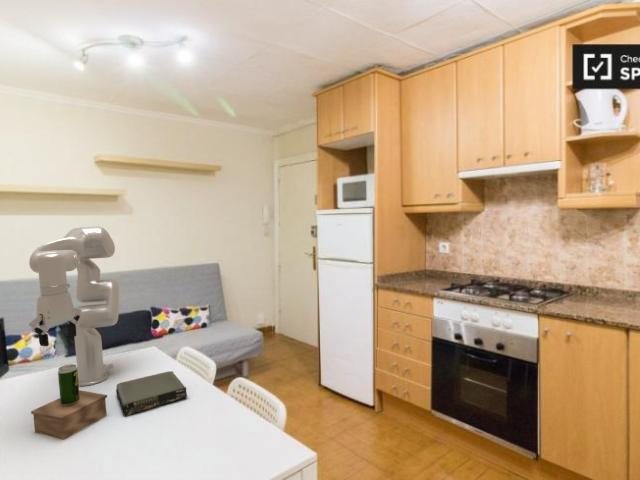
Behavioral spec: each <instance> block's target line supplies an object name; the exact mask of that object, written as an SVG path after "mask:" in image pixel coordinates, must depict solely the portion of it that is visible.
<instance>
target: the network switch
mask: <svg viewBox="0 0 640 480" xmlns="http://www.w3.org/2000/svg"><path fill="white" fill-rule="evenodd" d="M115 392H116V397H117V399H118V402H119V406H120V409H121V411H122V415H124V417H128V416H131V415H132V414H134V413H140V412H141V411H145V410H151V409H153V408H157V407H159V406H160V407H162V406H163V405H166V404H169V403H172V402H176V401H179V400H183V399H184V400H186V399H187V387H186V386H185V385H184V383H183V382H182V381H181V380H180V379H179V378H178V377H177V375H176V374H175V373H174V371H173V370H172V371H169V370H168V371H164V372H160V373H156V374H155V373H154V374H152V375H147V376H142V377H139V378H138V377H137V378H134V379H130V380H127V381H121V382H119V383H117V384H116V390H115Z"/></svg>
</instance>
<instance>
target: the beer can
mask: <svg viewBox="0 0 640 480" xmlns="http://www.w3.org/2000/svg"><path fill="white" fill-rule="evenodd" d="M57 376H58V377H57V378H58V390H59V398H60V403H61V404H62V406H70V405H73V404H76V403H77V402H78V401H79V399H80V395H79V390H80V386H79V383H78V370H77V364H75V363H74V364H73V363H70V364H64V365H61V366H60V367H58V371H57Z"/></svg>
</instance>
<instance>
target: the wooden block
mask: <svg viewBox="0 0 640 480" xmlns="http://www.w3.org/2000/svg"><path fill="white" fill-rule="evenodd" d="M79 395H80V399H79V401H78V402H77V403H76V404H73V405H70V406H62V404H61V403H60V397H59V398H57V399H55V400H52V401H51V402H48V403H46V404H44V405H41V406H40V407H37V408H35V409H33V410H31V411H30V414H31V415H32V416H33V426H34V433H37V434H41V435H45V436H49V437H53V438H58V439H61V440H65V439H67V438H68V437H70V436H72V435H74V434H76V433H78V432H79V431H81V430H83V429H85V428H86V427H88V426H90V425H92V424H94V423H95V422H97V421H100V420H101V419H103V418H104V417H106V416H107V415H108V413H107V404H106V403H107V402H106V398H108V394H103V393H97V392H92V391H86V390H82V389H81V390H80V389H79Z"/></svg>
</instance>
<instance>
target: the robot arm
mask: <svg viewBox="0 0 640 480" xmlns="http://www.w3.org/2000/svg"><path fill="white" fill-rule="evenodd" d="M115 251H116V246H115V242H114V240H113V239H112V237H111V236H110V234H109V232H108V231H107V229H105V228H104V227H101V226H86V227H85V226H83V227H82V226H81V227H74V228H72V229H70V230H69V231H68V233H67V234H66V235H65V236H63V238H59V239H57V240H54V241H51V242H47V243H44V244H41V245H40V246H38V247H37V248H36V249H35V250H34V251H33V252H32V254H31V255H30V257H29V260H28V261H29V263H28V264H29V268H30V269H31V271H32V272H35V273H37V274H38V281H39V283H38V284H39V293H40V296H38V297H37V300H36V317H35V318H34V319H33V320H32V321H31V322H29V323H28V326H29V328H30V329H31V331H32V332H34V333H36V335H38V343H39V346H41V347H48V346H49V345H50V341H49V335H48V333H47V332H48V330H49V328H52V327H55V326H57V325H58V326H59V325H61V324H65V323H67V324H66V325H67V326H66V327H67V335H68V337H74V346H75V347H74V348H75V360H76V361H75V362H76V367H77V370H78V383H79V387H86V386H92V385H96V384H99V383H101V382H103V381H106V380H107V379H108V378H109V373H108V372H107V371H108V370H110V369H113V368H114V363H109V364H106V363H105V364H104V355H103V343H102V335H101V334H100V332H99V331H98V330H97V329H96V328H103V327H105V328H106V327H112V326H115V325H116V324H117V323H118V320H119V314H120V313H119V312H120V311H119V309H120V305H119V304H120V288H119V284H118V281H116V280H115V279H112V278H106V279H105V278H104V279H103V278H102V279H101V269H100V267H99V266H98V265H97V264H96V263H95V262H94V261H93V260H92V259H107V258H111V257H112V256H113V255H114V254H115ZM74 270H77V281H76V294H75V295H76V299H77V301H78V302H79V303H82V304H85V305H81V306H80V305H79V306H77V307H74V304H73V299H72V296H71V292H69V289H70V287H71V285H70V283H68V278H67V272H71V271H74ZM68 288H69V289H68ZM104 302H105V303H104ZM93 303H94V304H93ZM96 303H98V304H96ZM86 304H87V305H86Z"/></svg>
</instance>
